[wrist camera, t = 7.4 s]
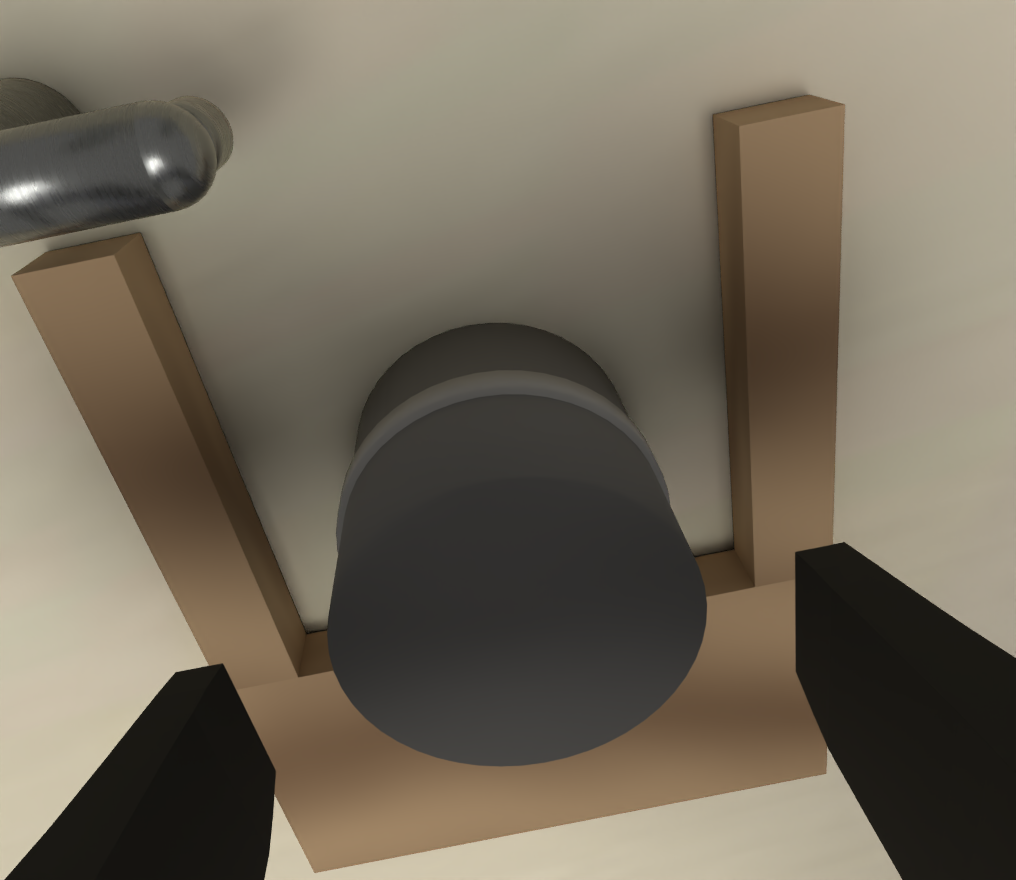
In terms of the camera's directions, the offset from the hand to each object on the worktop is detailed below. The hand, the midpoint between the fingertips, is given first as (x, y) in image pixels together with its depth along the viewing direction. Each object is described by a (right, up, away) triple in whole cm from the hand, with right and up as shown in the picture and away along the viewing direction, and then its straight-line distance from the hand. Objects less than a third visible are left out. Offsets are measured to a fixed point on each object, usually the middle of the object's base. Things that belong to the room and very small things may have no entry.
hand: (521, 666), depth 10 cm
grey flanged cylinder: (0, +3, +5) cm, 6 cm away
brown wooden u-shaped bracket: (0, 0, +6) cm, 6 cm away
